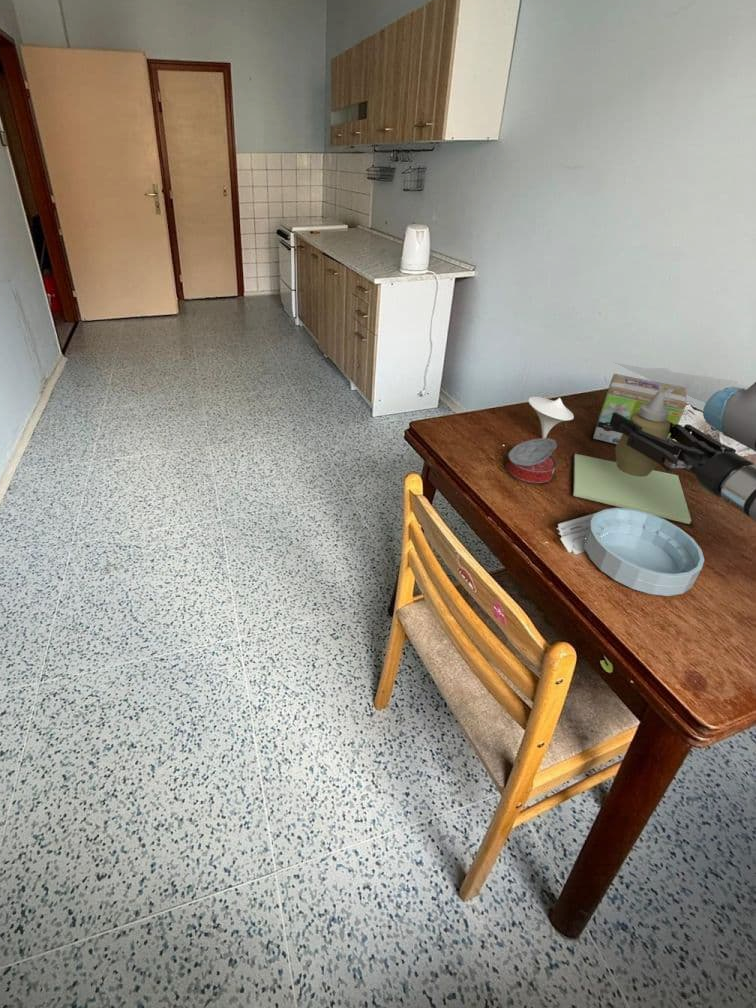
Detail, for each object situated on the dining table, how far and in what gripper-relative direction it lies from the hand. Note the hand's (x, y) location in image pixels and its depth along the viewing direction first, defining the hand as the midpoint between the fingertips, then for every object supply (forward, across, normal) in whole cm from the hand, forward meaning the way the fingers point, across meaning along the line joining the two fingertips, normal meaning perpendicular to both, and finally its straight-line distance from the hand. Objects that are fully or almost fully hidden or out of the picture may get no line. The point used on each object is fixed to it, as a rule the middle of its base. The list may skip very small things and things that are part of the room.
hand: (627, 416), depth 98 cm
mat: (-5, 0, -15) cm, 16 cm away
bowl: (-23, -14, -15) cm, 31 cm away
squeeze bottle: (-5, 0, -10) cm, 11 cm away
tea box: (+11, +16, -15) cm, 24 cm away
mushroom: (+16, -5, -15) cm, 22 cm away
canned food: (+5, -16, -15) cm, 23 cm away
